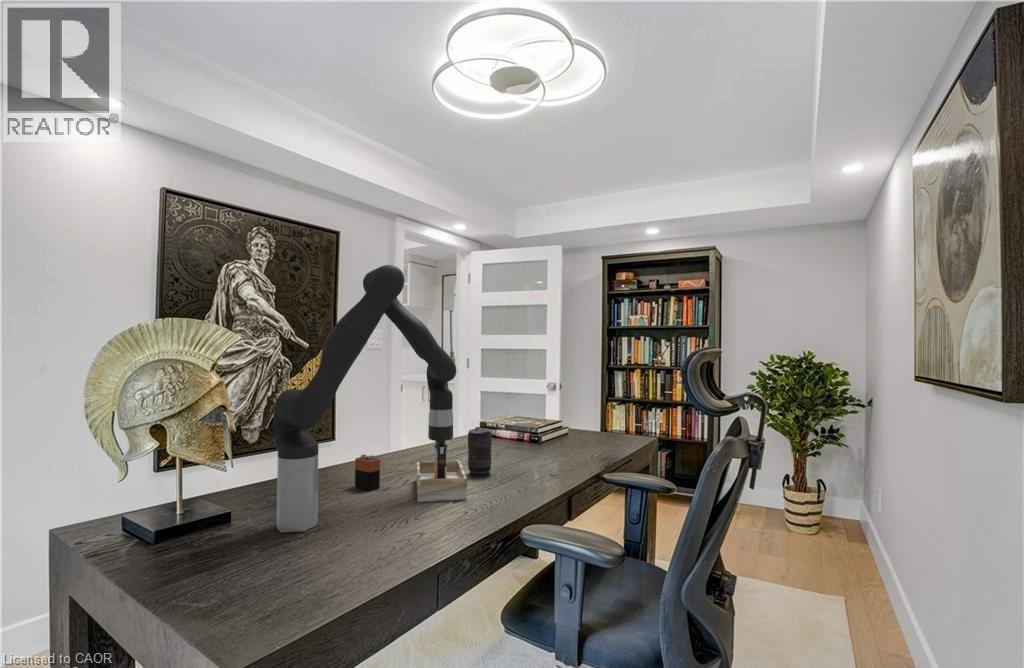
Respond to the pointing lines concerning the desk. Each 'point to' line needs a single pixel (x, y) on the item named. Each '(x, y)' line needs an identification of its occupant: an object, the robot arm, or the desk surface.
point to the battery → (367, 472)
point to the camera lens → (479, 452)
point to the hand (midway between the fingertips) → (440, 476)
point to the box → (441, 482)
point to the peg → (436, 470)
